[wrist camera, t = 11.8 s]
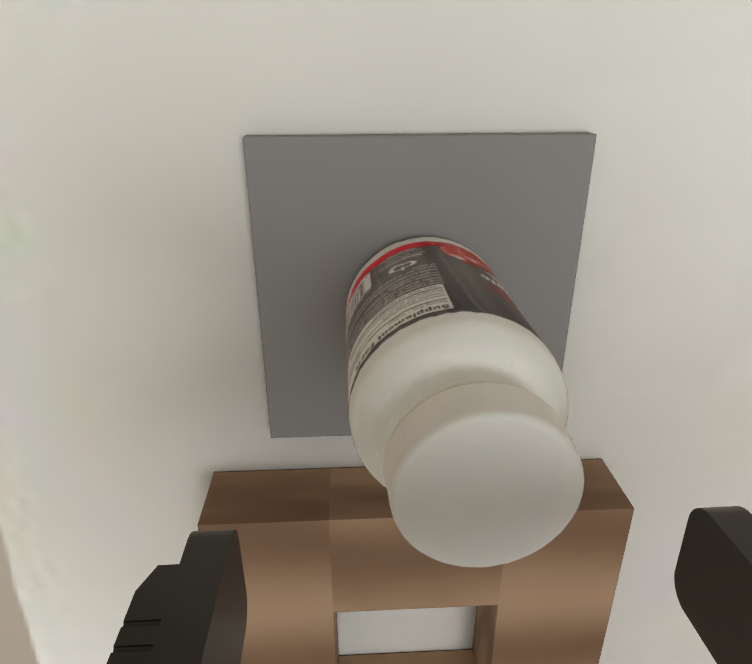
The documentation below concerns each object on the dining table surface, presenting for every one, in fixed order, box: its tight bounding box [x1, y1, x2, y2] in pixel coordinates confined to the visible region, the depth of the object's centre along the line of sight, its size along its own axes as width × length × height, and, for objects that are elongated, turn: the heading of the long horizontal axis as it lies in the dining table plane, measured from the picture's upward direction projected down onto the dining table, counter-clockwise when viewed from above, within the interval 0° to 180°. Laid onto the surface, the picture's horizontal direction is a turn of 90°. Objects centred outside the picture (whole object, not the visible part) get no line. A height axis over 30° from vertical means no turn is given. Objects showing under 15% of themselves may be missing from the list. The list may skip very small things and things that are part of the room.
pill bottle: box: [346, 237, 584, 567], centre depth 16 cm, size 5×5×10 cm
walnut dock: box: [198, 459, 634, 664], centre depth 26 cm, size 16×16×3 cm
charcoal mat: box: [243, 132, 597, 438], centre depth 21 cm, size 11×11×1 cm
